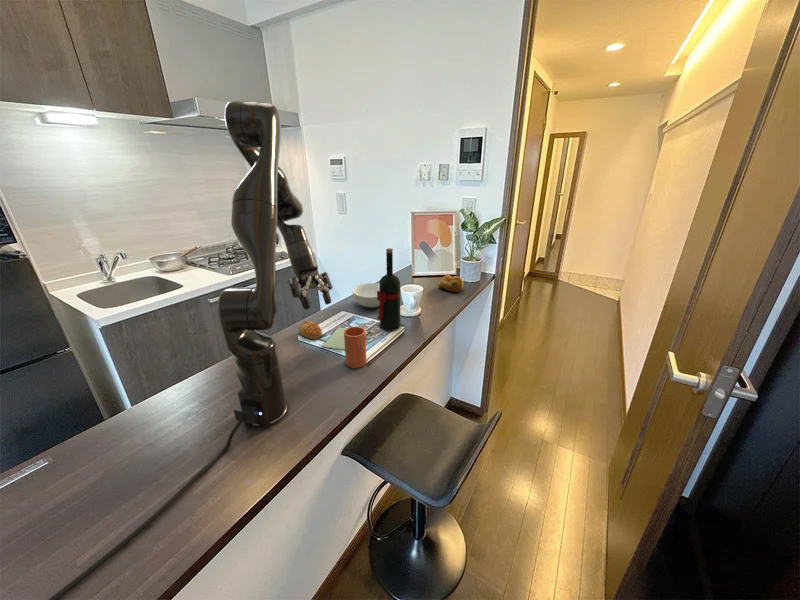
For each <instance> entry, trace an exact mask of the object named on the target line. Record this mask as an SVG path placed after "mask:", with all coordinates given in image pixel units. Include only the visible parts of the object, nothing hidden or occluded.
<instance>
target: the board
mask: <svg viewBox="0 0 800 600" xmlns="http://www.w3.org/2000/svg"><path fill="white" fill-rule="evenodd" d="M347 328H348V327H341V326H340V327H337V328H336V330H335V331H333V333H332V335H331V336H330V337H328V339H327V340H326V342H325V343H324V344H323V345H322V348H325V349H334V350H341V351H345V342H344V330H345V329H347ZM369 333H370V330H366V329H365V338H366V337H367V336H368V335H369Z"/></svg>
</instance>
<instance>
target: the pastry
mask: <svg viewBox="0 0 800 600" xmlns="http://www.w3.org/2000/svg"><path fill="white" fill-rule="evenodd" d="M298 331H299V334H300V335H302V336H303V337H305V338H308V339H309V340H312V339H313V340H315V339H318V338H320V337H322V334H323V331H322V328H321V327H320V325H318V323H316V322H315V321H311V320H306V321H304V322H302V323H301V324H300V325H299V327H298Z"/></svg>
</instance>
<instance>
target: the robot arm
mask: <svg viewBox="0 0 800 600" xmlns="http://www.w3.org/2000/svg"><path fill="white" fill-rule="evenodd" d="M281 119H282V118H281V114H280V111H279V110H278V108H277V107H276V106H275V105H274V104H273V103H270V102H264V101H248V100H247V101H245V100H232V101H229V102H227V104H226V105H225V108H224V122H225V126H226V131H227V132H228V135H229V137H230V138H231V140H232V143H233V144H234V145H235V147H236V148H237V150H238V151H239V153H240V154H241V156H243V158H244V160H245V161H246V163H247V164H248V165H249V167H250V170H249V171H248V173H247V174H246V175H245V176H244V177H243V178H242V180H241V181H240V183H239V184H238V185H237V187H236V188H235V190H234V192H233V194H232V198H231V216H230V217H231V219H230V224H231V230H232V232H233V233H234V236H235V237H236V240H238V243H239V244H240V245H241V247H242V248H243V250H244V251H245V253H246V254H247V256H248V258H249V260H250V262H251V264H252V266H253V269H254V275H255V287H228V288H225V289H223V290H222V291H221V292H220V294H219V296H218V299H217V306H216V307H217V315H218V316H217V317H218V321H219V324H220V328H221V331H222V333H223V337H224V340H225V343H226V347H227V350H228V352H229V354H230V355H231V357H232V361H233V364H234V369H235V374H236V377H237V382H238V385H239V390H238V392H237V397H238V400H239V404H238V405H236V407H235V408H234V409H233V413H234V417H235V421H236V422H237V423H236V425H234V427H233V429H232V430H231V432H230V434H229V436H228V439H227V442H226V444H225V445H224V446H223V448H222V450H221V451H220V452H219V454H218V455H217V456H216V457H214V459H213V460H211V462H209V463H208V464H206V465H205V466H204V468H202V469H201V470H200V471H199V472H198V473H196V474H195V475H194V476H193V477H192V478H190V480H189V481H188V482H187V483H186V484H184V485H183V487H182V488H181V489H180V490H178V491H177V492H176V494H174V495H173V496H172V497H170V499H169V500H168V501H166V503H165V504H163V506H161V507H160V508H159V509H158V510H157V511H156V512H155V513H153V514H152V515H151V516H150V517H149V518H148V519H147V520H146V521H144V522H143V523H142V524H141V525H140V526H138V528H136V529H135V530H133V532H132V533H130V534H129V535H128V536H126V537H125V538H124V539H123V540H122V541H121V542H119V543H118V544H117V545H115V546H114V547H113V548H112V549H111V550H109V551H108V552H107V553H106V554H105V555H103V556H102V557H101V558H99V559H98V560H97V561H95V562H94V563H93V564H92V565H91V566H90V567H88V568H87V569H86V570H84V571H83V572H82V573H81V574H80V575H77V577H76V578H75V579H73V580H71V582H69V583H68V584H67V585H65V586H64V587H63V588H61V589H60V590H58V591H57V592H56V593H55V594H53V595H52V596H51V597H50V598H48V600H59V599H60V598H61V597H62V596H64V595H65V594H67V592H69V591H70V590H71V589H72V588H74V587H76V585H78V584H79V583H80V582H81V581H83V580H84V579H85V578H86V577H88V576H89V575H90V574H91V573H92V572H94V571H95V570H96V569H97V568H99V567H100V566H101V565H102V564H103V563H105V562H106V561H107V560H108V559H109V558H111V557H113V556H114V554H116V553H117V552H118V551H119V550H121V549H122V548H123V547H125V546H126V545H127V544H128V543H129V542H130V541H132V540H133V539H134V538H135V537H137V536H138V535H139V534H140V533H141V532H142V531H143V530H144V529H146V528H147V527H148V526H149V525H150V524H152V522H153V521H155V520H156V519H158V517H159V516H160V515H162V513H163V512H165V510H167V509H168V508H169V507H170V506H171V505H172V504H173V503H174V502H176V501H177V499H179V497H180V496H182V494H183V493H185V492H186V491H187V490H188V489H189V488H190V487H191V486H192V485H193V484H194V483H195V482H196V480H198V479H199V478H201V476H202V475H203V474H205V473H206V472H207V471H208V470H209V469H210V468H211V467H212V466H214V465H215V464H216V463H217V462H218V461H219V460H220V459H221V458H222V456H224V455H225V454H226V452H227V451H228V449H229V448H230V446H231V444H232V440H233V437H234V436H235V434H236V432H237V431H238V429H239V428H240V427H241V425H242V423H244V425H248V426H252V427H256V428H263V429H269V427H271V426H272V425H273V424H277V422H279V421H281V420H282V419H283V418H284V417H285V415H286V414H287V411H288V406H287V402H286V395H285V391H284V384H283V378H282V373H281V366H280V360H279V356H278V349H277V344H276V340H275V339H274V338H273V337H272V336H270V335H268V334H266V333H263V332H260V331H269V330H271V329H272V328H273V327H274V326H275V324H276V321H277V317H278V290H277V289H278V288H277V271H276V269H277V268H276V251H277V250H276V249H277V248H276V247H277V228H278V230H279V232H280V234H281V236H282V239H283V242H284V245H285V247H286V252H287V255H288V258H289V259H288V260H289V262H290V265H291V267H292V272H293V274H294V276H292V277H291V278H289V279H288V285H289V288H290V291H291V296H292V297H293V298H294V299H295V298H298V299H299V301H300V303H301V306H302V308H303V309H304V310H305V311H306V310H307V311H308V310H309V309H311V304H310V301H309V298H308V296H307V293H308V291H309V290H311V289H316V290H317V291H319V292H320V293H322V294H321V296H322V298H323V301H324V304H325V305H330V304H331V303H332V298H331V295H330V291H331V290H332V289H333V285H332V282H331V279H330V278H329V275H328V272H326V271H325V272H322V273H320V272H319V266H318V262H317V260H316V258H315V254H314V251H313V248H312V246H311V244H310V242H309V239H308V237H307V233H306V231H305V228H304V227H303V225H301V224H288V223H286V222H288V221H292V220H297V219H299V218H301V217H302V215H303V214H304V207H303V205H302V202H301V201H300V199H299V198H298V197H297V195H295V193H294V192H293V191H292V189H291V186H290V184H289V180H288V178H287V176H286V174H285V172H284V170H283V169H282V168H281V167H280V166H279V162H280V151H281V144H282V143H281V141H282V120H281Z"/></svg>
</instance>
